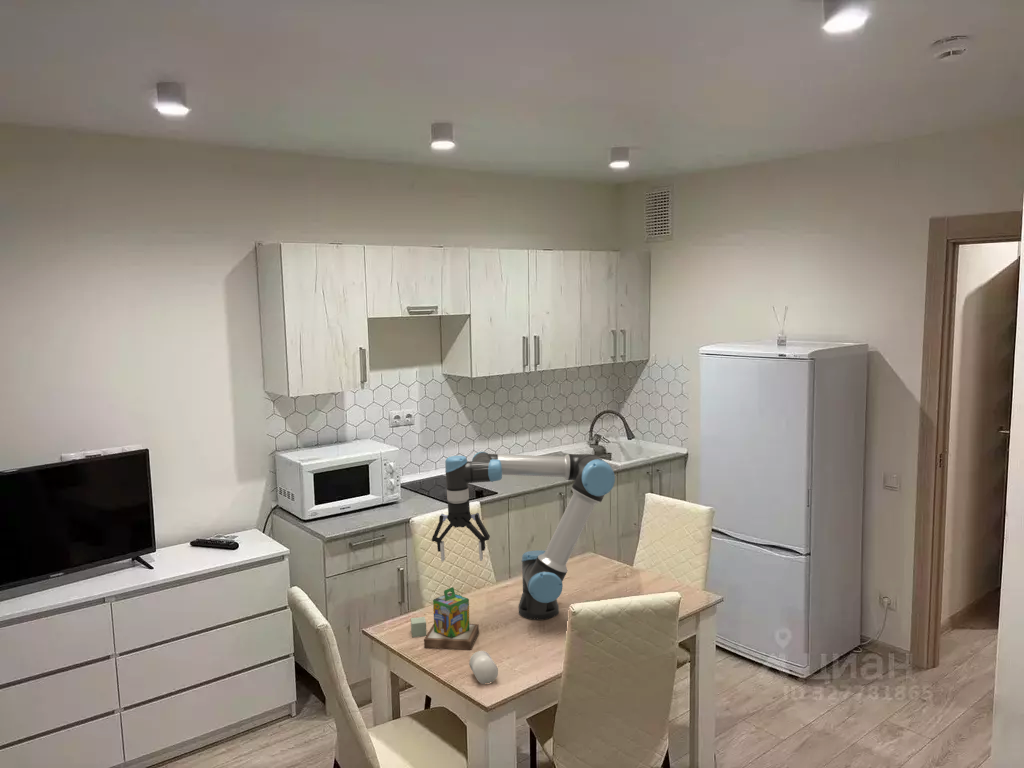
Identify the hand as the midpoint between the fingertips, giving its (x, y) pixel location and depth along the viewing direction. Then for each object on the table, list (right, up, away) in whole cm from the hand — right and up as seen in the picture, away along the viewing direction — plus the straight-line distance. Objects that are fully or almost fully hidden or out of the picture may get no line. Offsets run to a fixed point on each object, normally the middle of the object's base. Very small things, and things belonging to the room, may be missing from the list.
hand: (462, 560), depth 264 cm
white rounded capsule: (+8, -26, -28) cm, 38 cm away
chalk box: (-3, -24, -4) cm, 24 cm away
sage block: (-15, -27, +2) cm, 31 cm away
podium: (-3, -27, -4) cm, 27 cm away
